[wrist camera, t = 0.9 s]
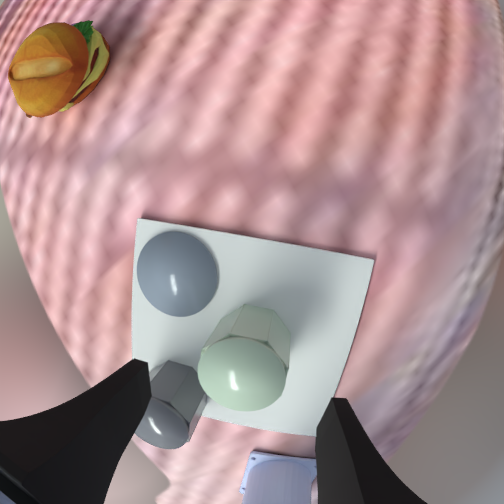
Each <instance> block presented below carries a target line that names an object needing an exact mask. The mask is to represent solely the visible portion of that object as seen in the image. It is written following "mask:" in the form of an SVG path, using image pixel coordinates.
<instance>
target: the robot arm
mask: <svg viewBox="0 0 504 504" xmlns="http://www.w3.org/2000/svg"><path fill="white" fill-rule="evenodd" d="M151 396H152V393H151V385H150V376H149V367H148V362H145V361H142V360H138V359H135V358H134V359H132V360H131V361H130V362H128V363H127V364H125V365H124V366H123V367H121V368H120V369H118V370H117V371H116V372H114V373H113V374H111V375H110V376H109V377H107V378H106V379H104V380H103V381H101V382H100V383H98V384H97V385H95V386H94V387H92V388H90V389H89V390H87V391H85V392H84V393H82V394H80V395H79V396H77V397H75V398H73V399H71V400H69V401H67V402H65V403H63V404H61V405H59V406H57V407H54V408H51V409H49V410H46V411H43V412H40V413H37V414H34V415H31V416H27V417H23V418H19V419H14V420H8V421H0V504H104V501H105V497H106V494H107V491H108V488H109V485H110V483H111V480H112V477H113V474H114V472H115V469H116V467H117V464H118V462H119V460H120V458H121V456H122V454H123V452H124V450H125V448H126V446H127V445H128V443H129V441H130V440H131V438H132V436H133V434H134V433H135V431H136V429H137V427H138V425H139V424H140V422H141V420H142V418H143V416H144V414H145V412H146V409H147V407H148V404H149V402H150V399H151ZM315 453H316V459H309V458H299V457H290V456H282V455H275V454H269V453H262V452H257V451H252V452H251V453H250V456H249V459H248V463H247V466H246V470H245V473H244V477H243V480H242V484H241V487H240V491H239V492H240V493H242V494H244V496H243V500H242V504H311V484H312V482H313V480H314V478H315V477H316V475H317V483H318V504H427V503H426V502H424V501H423V500H422V499H421V498H419V497H418V496H417V495H416V494H415V493H414V492H413V491H412V490H410V489H409V488H408V487H407V486H406V485H405V484H404V483H403V482H402V481H401V480H400V479H399V478H398V477H397V476H396V475H395V473H394V472H393V471H392V470H391V469H390V467H389V466H388V465H387V464H386V462H385V461H384V460H383V458H382V457H381V455H380V454H379V453H378V451H377V450H376V448H375V447H374V445H373V444H372V442H371V440H370V439H369V437H368V436H367V434H366V432H365V431H364V429H363V427H362V426H361V424H360V422H359V420H358V418H357V417H356V415H355V413H354V411H353V409H352V407H351V406H350V404H349V402H348V400H347V399H346V398H334V397H331V400H330V402H329V404H328V406H327V408H326V410H325V412H324V414H323V416H322V418H321V420H320V422H319V424H318V426H317V428H316V445H315ZM253 457H254V458H253Z"/></svg>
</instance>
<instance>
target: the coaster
mask: <svg viewBox="0 0 504 504" xmlns="http://www.w3.org/2000/svg"><path fill="white" fill-rule="evenodd" d="M137 278H138V283H139V286H140V288H141V291H142V293H143V294H144V296H145V297H146V299H147V300H148V301H149V302H150V303H151V304H152V305H153V306H154V307H155V308H156V309H158V310H159V311H161V312H163V313H165V314H167V315H170V316H175V317H187V316H191V315H194V314H196V313H198V312H200V311H201V310H202V309H204V308H205V307H206V306H207V305H208V304H209V302H210V301H211V299H212V298H213V296H214V294H215V291H216V287H217V269H216V265H215V262H214V259H213V257H212V255H211V253H210V252H209V250H208V249H207V248H206V247H205V245H204V244H203V243H202V242H201V241H199V240H198V239H196V238H195V237H193V236H191V235H189V234H187V233H183V232H177V231H170V232H165V233H161V234H158V235H156V236H155V237H153V238H152V239H150V240H149V241H148V242H147V243H146V244H145V246H144V247H143V249H142V250H141V252H140V255H139V258H138V261H137Z"/></svg>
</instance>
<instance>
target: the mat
mask: <svg viewBox="0 0 504 504" xmlns="http://www.w3.org/2000/svg"><path fill="white" fill-rule="evenodd" d="M170 231H177V232H183V233H187V234H189V235H191V236H193V237H195V238H196V239H198V240H199V241H201V242H202V243H203V244H204V245H205V247H206V248H207V249H208V250H209V252H210V253H211V255H212V257H213V259H214V262H215V265H216V269H217V287H216V291H215V294H214V296H213V298H212V299H211V301H210V302H209V304H208V305H207V306H206V307H205V308H204V309H202V310H201V311H200V312H198V313H196V314H194V315H191V316H187V317H175V316H170V315H167V314H165V313H163V312H161V311H159V310H158V309H156V308H155V307H154V306H153V305H152V304H151V303H150V302H149V301H148V300H147V299H146V297H145V296H144V294H143V293H142V291H141V288H140V286H139V283H138V278H137V261H138V258H139V255H140V252H141V250H142V249H143V247H144V246H145V244H146V243H147V242H148V241H149V240H150V239H152V238H153V237H155V236H156V235H158V234H161V233H165V232H170ZM373 263H374V260H373V259H370V258H365V257H360V256H355V255H349V254H344V253H339V252H333V251H328V250H323V249H317V248H312V247H306V246H301V245H295V244H290V243H284V242H279V241H273V240H268V239H262V238H256V237H251V236H245V235H239V234H233V233H227V232H222V231H216V230H210V229H204V228H198V227H192V226H186V225H180V224H174V223H168V222H162V221H156V220H149V219H143V218H138V219H137V228H136V239H135V251H134V266H133V286H132V359H134V358H135V359H138V360H142V361H145V362H148V367H149V372H150V371H151V370H152V369H154V368H155V367H157V366H159V365H161V364H162V363H164V362H166V361H167V360H170V361H173V362H176V363H180V364H183V365H187V366H191V367H193V368H194V370H195V371H196V372H197V373H198V364H199V361H200V358H201V349H202V348H203V346H204V345H205V343H206V341H207V340H208V338H209V337H210V335H211V334H212V332H213V331H214V329H215V327H216V326H217V324H218V323H219V321H220V320H221V318H223V317H225V316H226V315H228V314H230V313H231V312H233V311H234V310H236V309H237V308H239V307H241V306H242V305H244V304H246V305H251V306H256V307H262V308H267V309H272V310H274V311H275V312H276V314H277V315H278V316H279V318H280V319H281V320H282V322H283V323H284V325H285V326H286V327H287V329H288V330H289V331H290V333H291V335H290V362H289V370H288V373H287V377H286V383H285V387H284V390H283V392H282V396H281V397H279V398H278V399H277V400H276V401H275V402H274V403H273V404H271V405H270V406H268V407H266V408H263V409H260V410H256V411H236V410H232V409H229V408H226V407H224V406H222V405H220V404H218V403H217V402H215V401H214V400H212V399H211V398H210V397H209V396H208V395H207V402H206V403H207V404H206V406H205V408H204V410H203V413H202V415H201V416H204V417H208V418H212V419H216V420H220V421H224V422H229V423H233V424H238V425H243V426H248V427H253V428H258V429H264V430H269V431H276V432H282V433H289V434H297V435H305V436H315V437H316V428H317V426H318V424H319V422H320V420H321V418H322V416H323V414H324V412H325V410H326V408H327V406H328V404H329V402H330V400H331V397H333V396H334V394H335V391H336V388H337V386H338V383H339V380H340V377H341V375H342V372H343V369H344V366H345V363H346V360H347V357H348V354H349V351H350V348H351V345H352V342H353V338H354V335H355V332H356V329H357V325H358V322H359V318H360V315H361V311H362V308H363V304H364V300H365V296H366V293H367V289H368V285H369V281H370V276H371V272H372V268H373Z"/></svg>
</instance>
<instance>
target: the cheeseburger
mask: <svg viewBox="0 0 504 504" xmlns="http://www.w3.org/2000/svg"><path fill="white" fill-rule="evenodd" d="M92 22H93V21H89V20H88V21H85V22H79V23H75V24H72V25H69V24H67V23H50V24H47V25H44V26H42V27H40V28H38V29H37V30H35V31H34V32H33V33H32V34H30V35H29V36H28V37H27V38H26V39H25V40H24V42H23V43H22V44H21V46H20V47H19V49H18V51H17V52H16V54H15V56H14V58H13V60H12V62H11V65H10V67H9V72H8V79H9V82H10V85H11V87H12V90H13V92H14V95H15V98H16V100H17V103H18V105H19V106H20V107H21V109H22V110H23V111H24V112H25V113H26V116H27V117H29V118H31V117H32V116H36V117H45V116H49V115H52V114H54V113H56V112H57V111H65V110H67V109H69V108H70V107H72V106H73V105H75V104H77V103H79V102H81V101H82V100H83V99H84V98H85V97H86V96H87V95H88V94H89V93H90V92H91V91H92V90H93V89H94V88H95V86H96V85H97V84H98V82H99V81H100V79H101V78H102V77H103V75H104V73H105V70H106V68H107V65H108V63H109V60H110V50H109V45H108V43H107V42H106V40H105V38H104V37H103V36H102V34H101V33H100V32H98V31H96V30H95V29H94V28H93V26H91V24H92Z"/></svg>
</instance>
